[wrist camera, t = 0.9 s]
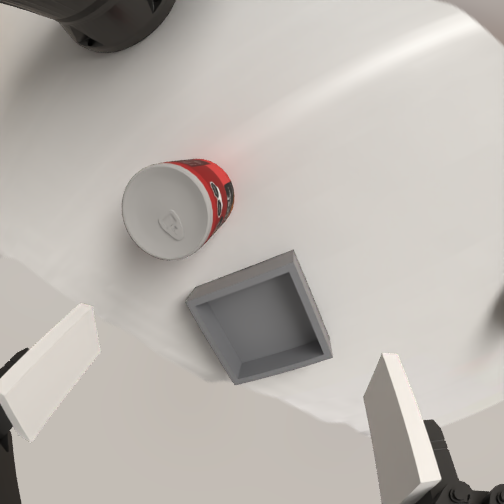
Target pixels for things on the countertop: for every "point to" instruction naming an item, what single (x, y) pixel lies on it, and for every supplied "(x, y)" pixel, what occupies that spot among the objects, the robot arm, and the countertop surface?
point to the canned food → (176, 206)
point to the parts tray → (261, 320)
